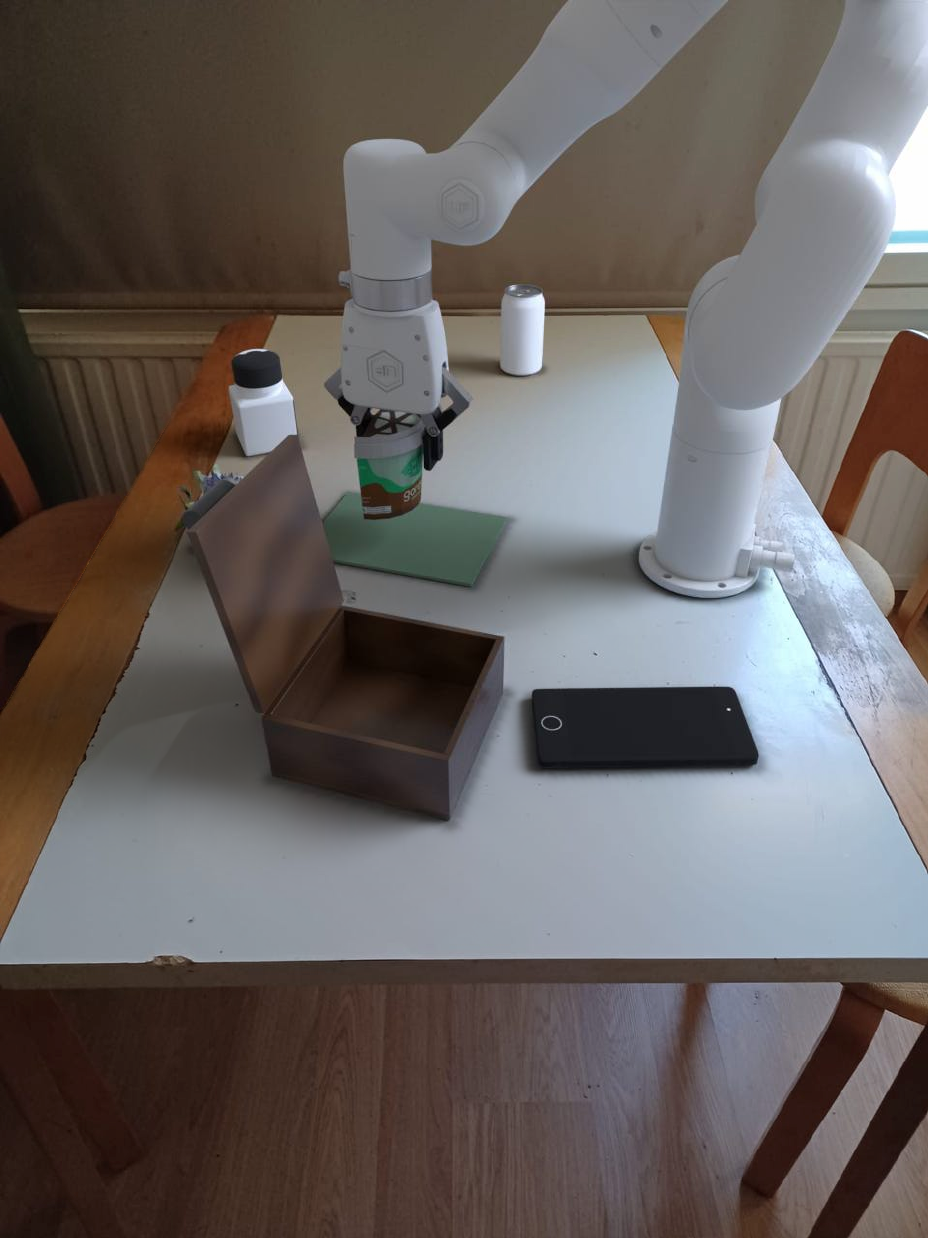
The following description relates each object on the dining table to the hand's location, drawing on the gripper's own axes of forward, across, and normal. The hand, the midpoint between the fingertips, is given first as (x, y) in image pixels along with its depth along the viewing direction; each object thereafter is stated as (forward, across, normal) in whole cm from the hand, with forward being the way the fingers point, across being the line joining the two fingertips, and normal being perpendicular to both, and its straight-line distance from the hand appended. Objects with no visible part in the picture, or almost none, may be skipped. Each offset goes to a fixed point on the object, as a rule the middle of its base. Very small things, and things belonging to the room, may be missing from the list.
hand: (400, 458), depth 96 cm
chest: (+10, +10, -30) cm, 33 cm away
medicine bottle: (+10, -26, +17) cm, 33 cm away
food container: (+5, 0, 0) cm, 5 cm away
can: (+10, 0, +51) cm, 52 cm away
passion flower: (+10, -18, -8) cm, 22 cm away
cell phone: (+10, +30, -23) cm, 39 cm away
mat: (+10, 0, 0) cm, 10 cm away
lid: (-5, +2, -29) cm, 30 cm away
